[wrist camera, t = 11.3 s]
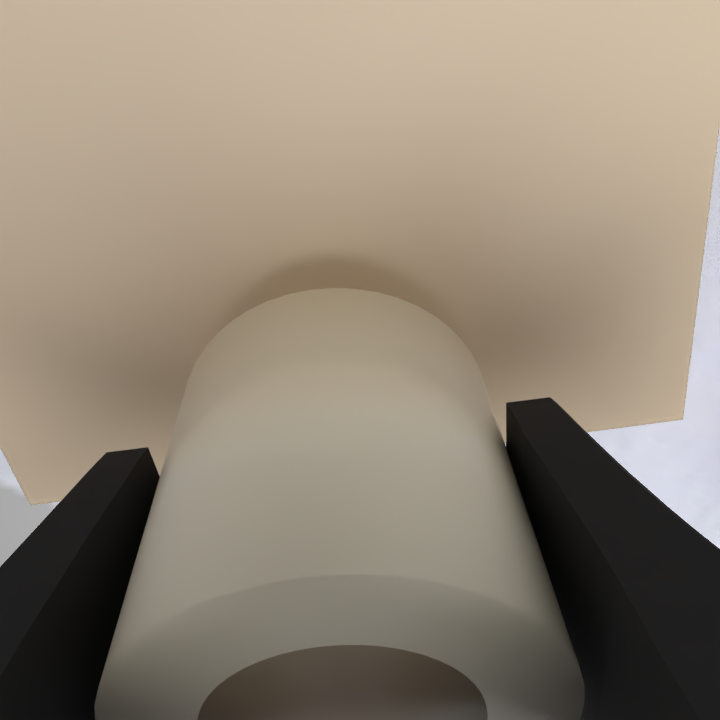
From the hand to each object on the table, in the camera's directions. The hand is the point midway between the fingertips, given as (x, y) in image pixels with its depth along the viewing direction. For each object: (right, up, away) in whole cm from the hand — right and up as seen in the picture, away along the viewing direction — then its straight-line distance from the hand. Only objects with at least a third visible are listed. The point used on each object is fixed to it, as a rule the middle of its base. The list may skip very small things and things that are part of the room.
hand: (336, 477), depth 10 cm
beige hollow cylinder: (0, +1, +1) cm, 2 cm away
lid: (-1, +5, +1) cm, 5 cm away
